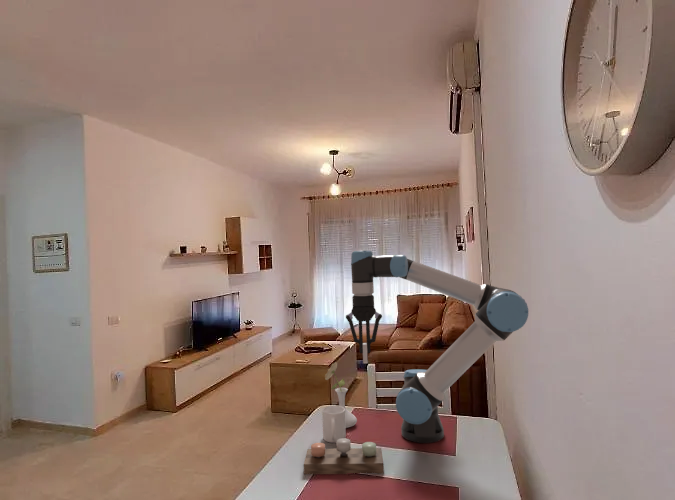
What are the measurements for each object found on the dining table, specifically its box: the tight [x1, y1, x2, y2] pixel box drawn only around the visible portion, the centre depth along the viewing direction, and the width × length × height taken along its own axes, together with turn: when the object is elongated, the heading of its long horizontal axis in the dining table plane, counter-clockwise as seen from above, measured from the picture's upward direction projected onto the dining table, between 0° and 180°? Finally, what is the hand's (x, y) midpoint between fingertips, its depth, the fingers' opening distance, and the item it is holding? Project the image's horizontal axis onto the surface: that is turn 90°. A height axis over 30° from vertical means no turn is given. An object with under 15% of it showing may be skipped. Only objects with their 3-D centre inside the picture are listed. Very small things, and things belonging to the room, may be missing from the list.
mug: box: [321, 405, 347, 444], centre depth 145 cm, size 12×8×10 cm
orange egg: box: [310, 442, 326, 458], centre depth 128 cm, size 4×4×4 cm
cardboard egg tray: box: [303, 447, 385, 475], centre depth 127 cm, size 24×10×3 cm, turn 88°
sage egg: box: [361, 441, 377, 457], centre depth 127 cm, size 4×4×4 cm
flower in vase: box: [324, 361, 358, 429], centre depth 159 cm, size 13×11×25 cm
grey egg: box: [335, 437, 352, 456], centre depth 127 cm, size 4×4×4 cm
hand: (365, 362), depth 142 cm, fingers closed
